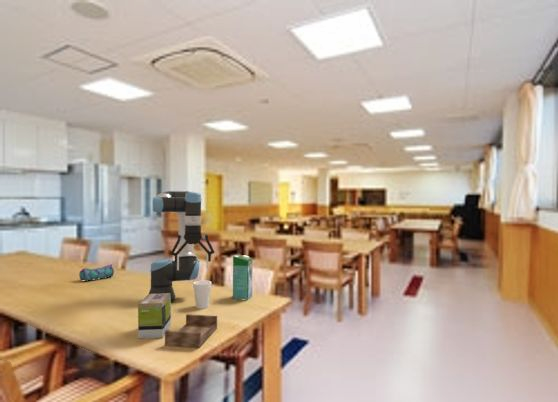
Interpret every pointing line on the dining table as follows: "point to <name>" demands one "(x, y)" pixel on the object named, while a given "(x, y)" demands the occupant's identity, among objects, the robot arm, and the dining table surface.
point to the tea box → (154, 315)
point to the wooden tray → (192, 331)
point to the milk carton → (242, 277)
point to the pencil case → (96, 273)
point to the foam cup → (202, 293)
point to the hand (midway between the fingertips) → (192, 269)
